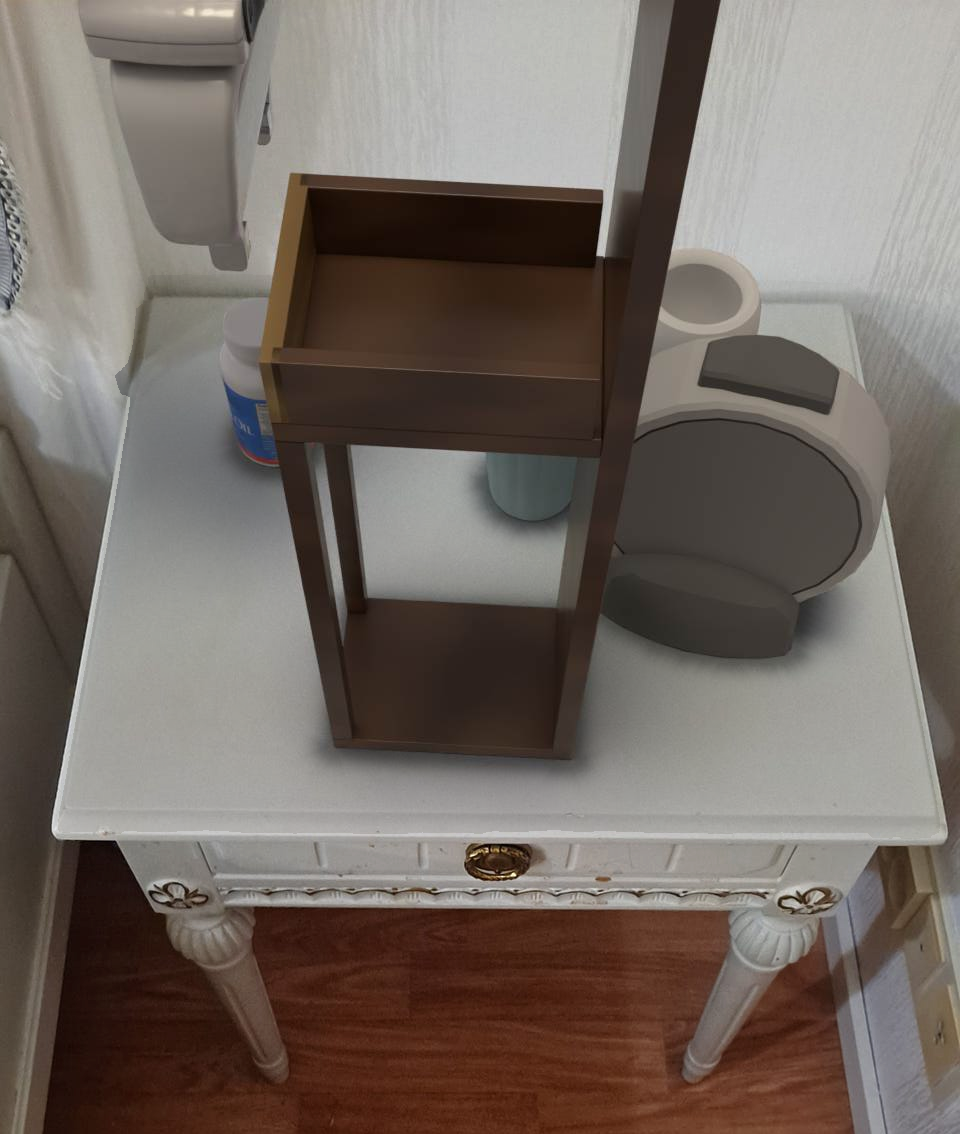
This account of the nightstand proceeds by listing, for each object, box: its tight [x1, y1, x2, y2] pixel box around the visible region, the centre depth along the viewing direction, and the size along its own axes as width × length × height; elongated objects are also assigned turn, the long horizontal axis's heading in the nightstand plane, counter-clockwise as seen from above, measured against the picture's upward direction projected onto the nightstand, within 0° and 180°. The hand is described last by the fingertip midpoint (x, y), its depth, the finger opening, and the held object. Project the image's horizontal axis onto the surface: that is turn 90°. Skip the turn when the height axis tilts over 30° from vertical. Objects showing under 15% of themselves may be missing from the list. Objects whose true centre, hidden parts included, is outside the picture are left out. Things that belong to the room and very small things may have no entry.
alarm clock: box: [600, 334, 892, 659], centre depth 65 cm, size 16×10×18 cm, turn 74°
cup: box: [484, 452, 577, 521], centre depth 72 cm, size 8×8×10 cm
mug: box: [650, 247, 762, 358], centre depth 76 cm, size 12×8×8 cm
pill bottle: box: [219, 296, 317, 468], centre depth 73 cm, size 6×5×10 cm
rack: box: [259, 0, 722, 761], centre depth 51 cm, size 14×10×42 cm
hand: (245, 196), depth 61 cm, fingers open, 8 cm apart
